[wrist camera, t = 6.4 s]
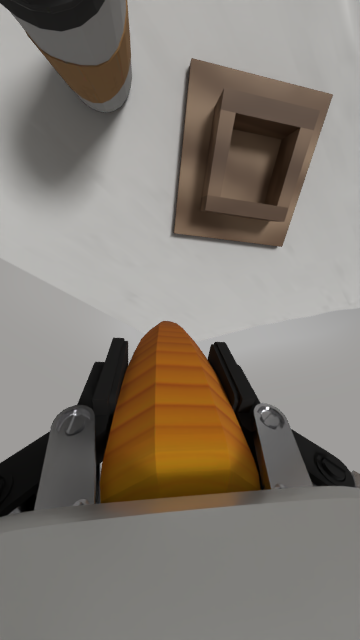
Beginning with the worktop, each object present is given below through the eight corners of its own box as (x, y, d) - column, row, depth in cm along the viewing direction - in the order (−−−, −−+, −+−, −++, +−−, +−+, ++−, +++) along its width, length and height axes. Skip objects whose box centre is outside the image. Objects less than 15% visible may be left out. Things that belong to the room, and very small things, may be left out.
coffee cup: (145, 23, 19) (116, -439, 6) (138, 135, 22) (112, 19, 9) (50, -10, 17) (-286, -726, 4) (60, 115, 21) (-104, -56, 8)
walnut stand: (190, 65, 20) (197, 28, 16) (326, 99, 23) (361, 74, 19) (173, 232, 28) (176, 235, 24) (278, 245, 30) (296, 250, 26)
